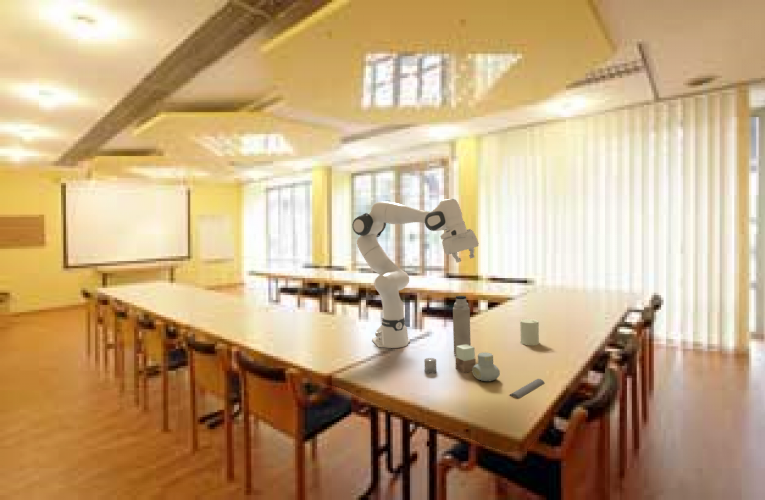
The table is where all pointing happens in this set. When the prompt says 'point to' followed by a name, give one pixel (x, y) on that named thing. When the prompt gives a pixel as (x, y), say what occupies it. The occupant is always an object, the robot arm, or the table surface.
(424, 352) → the table surface
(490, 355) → the air freshener
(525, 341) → the can
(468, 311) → the thermos bottle
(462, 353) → the sage block
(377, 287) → the robot arm
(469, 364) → the walnut block
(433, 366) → the short grey cylinder
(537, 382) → the half round rod
